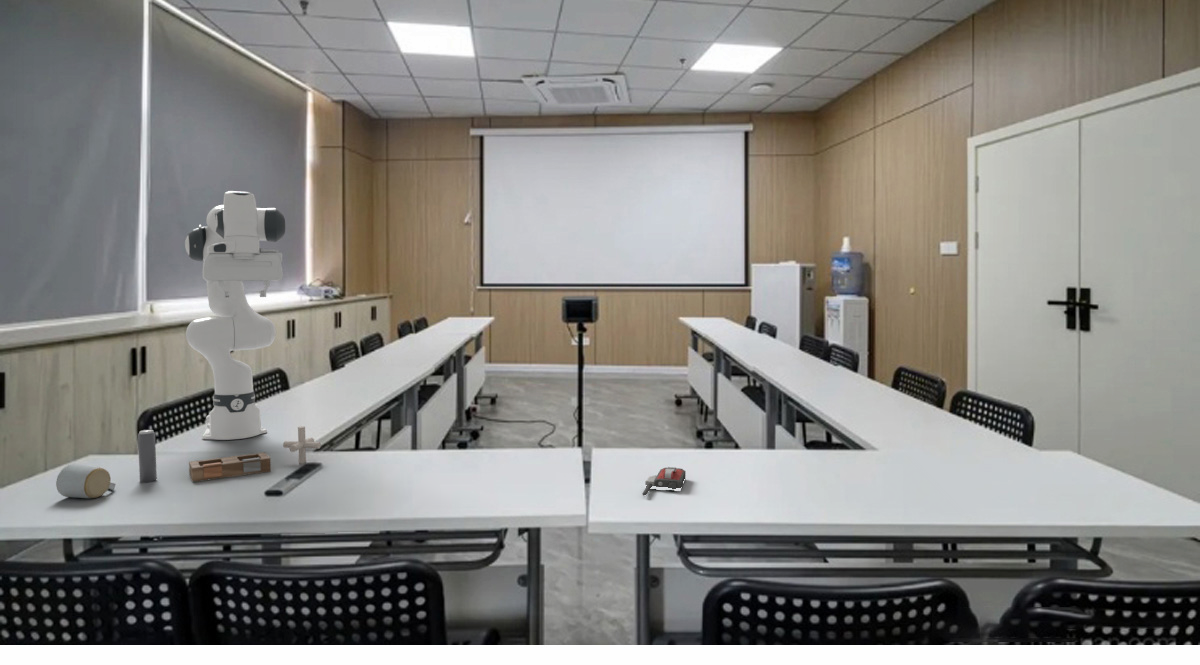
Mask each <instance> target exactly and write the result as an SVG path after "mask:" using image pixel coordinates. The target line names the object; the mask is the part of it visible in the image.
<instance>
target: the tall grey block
mask: <svg viewBox="0 0 1200 665" xmlns="http://www.w3.org/2000/svg"><path fill="white" fill-rule="evenodd" d="M137 444H138V445H137V446H138V466H139V470H138V471H139V483H143V482H145V483H150V482H149V481H152V482H155V481H154V480H156V479H157V480H158V477H157V476H158V475H157V474H158V473H157V472H158V471H157V454H156V453H157V452H156V450H157V449H156V432H154V430H153V429H143V430H140V431H139V433H138V434H137ZM157 480H156V481H157Z"/></svg>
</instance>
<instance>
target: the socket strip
mask: <svg viewBox="0 0 1200 665" xmlns="http://www.w3.org/2000/svg"><path fill="white" fill-rule="evenodd" d="M271 461H272V460H271V457H270V456H269V455H268V454H267V453H266V452H265V451H264V452H256V453H250V454H249V453H248V454H241V455H233V456H226V457H217V458H208V459H201V460H194V461H193V460H192V461H189V462H188V466H189V468H188V469H189V472H188V473H189V477H190V476H191V477H190V480H191V481H197V482H202V481H201V480H204V481H209V480H208V479H211V480H217V479H216V478H219V479H225V478H224V477H226V478H230V477H232V476H233V477H239V475H240V476H246V475H245V474H248V475H253V473H255V474H262V473H268V472H269V473H270V472H272V469H271V468H272V467H271V465H272V464H271V463H272V462H271Z"/></svg>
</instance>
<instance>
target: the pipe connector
mask: <svg viewBox="0 0 1200 665" xmlns="http://www.w3.org/2000/svg"><path fill="white" fill-rule="evenodd" d="M297 436H298V438H297V439H298V441H289V440H288V441H287V440H285V441H284V442H283V443H282V446H283V448H286V449H289V451H290V452H292V453H294V452H297V451H298V463H299V464H305V462H306V463H307V454H306V453H307V450H306V449H319V450H320V448H321V446H322V444H321V441H315V439H314V438H313V437H309V438H306V426H298V427H297Z"/></svg>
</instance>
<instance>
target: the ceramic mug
mask: <svg viewBox="0 0 1200 665" xmlns="http://www.w3.org/2000/svg"><path fill="white" fill-rule="evenodd" d="M111 479H112V478H111V474H110V473H109V471H108V470H106V468H102V467H100V466H97V465H96V466H95V465H94V466H93V465H89V464H88V465H87V464H82V463H76V462H75V463H70V464H68V465H66V466H64V467H63V468H62V469H61V470H60V472H59V473H58V475H57V478H56V480H55V483H56V484H55V486H56V490H57V492H58V493H59V494H60V496H62V497H66V498H73V499H74V498H76V499H78V498H79V499H90V500H91V499H96V498H100V497H101V496H103V495H105V493H106V492H107V491H108V490H111V491H114V490H115V488H116V483H115V482H112V481H111Z"/></svg>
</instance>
